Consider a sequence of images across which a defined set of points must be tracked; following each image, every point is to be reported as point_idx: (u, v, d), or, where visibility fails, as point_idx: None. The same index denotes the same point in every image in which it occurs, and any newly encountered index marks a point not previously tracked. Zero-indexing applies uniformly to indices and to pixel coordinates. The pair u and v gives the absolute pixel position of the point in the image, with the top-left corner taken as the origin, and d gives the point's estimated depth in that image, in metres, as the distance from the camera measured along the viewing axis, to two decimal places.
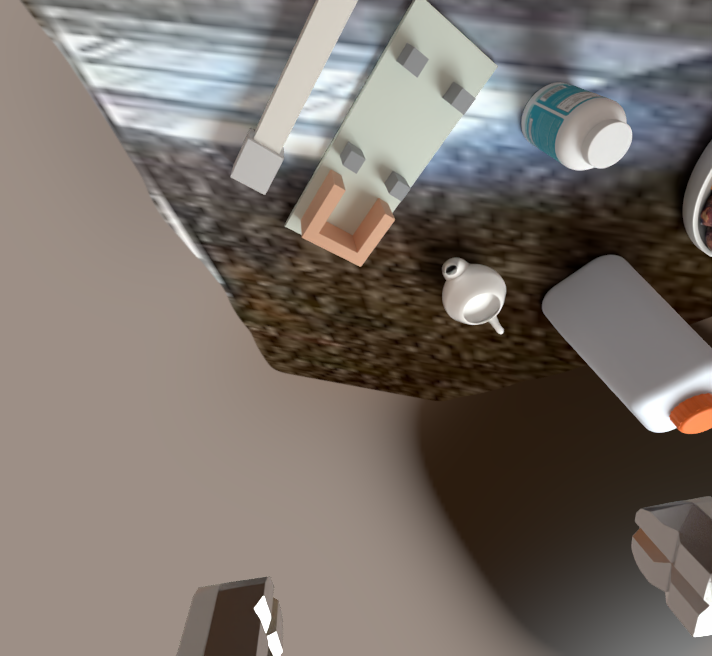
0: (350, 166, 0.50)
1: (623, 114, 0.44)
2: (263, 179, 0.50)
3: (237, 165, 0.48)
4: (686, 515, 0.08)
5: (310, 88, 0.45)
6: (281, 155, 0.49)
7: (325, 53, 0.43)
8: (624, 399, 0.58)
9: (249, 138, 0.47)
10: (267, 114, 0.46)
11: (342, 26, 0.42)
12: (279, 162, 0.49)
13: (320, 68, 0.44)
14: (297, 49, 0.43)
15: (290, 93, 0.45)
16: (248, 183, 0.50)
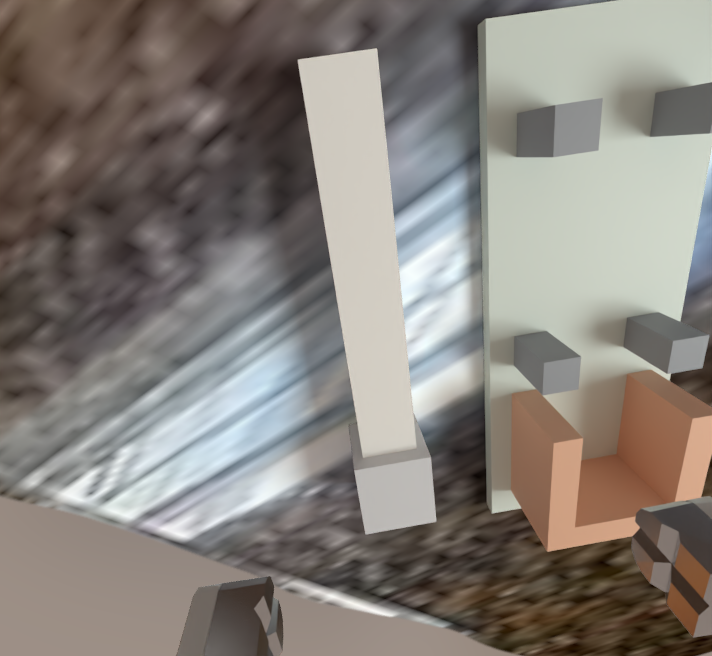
0: (558, 386, 0.22)
1: None
2: (419, 504, 0.25)
3: (364, 513, 0.25)
4: (686, 515, 0.08)
5: (400, 325, 0.21)
6: (422, 447, 0.24)
7: (388, 258, 0.20)
8: None
9: (355, 465, 0.24)
10: (357, 412, 0.23)
11: (387, 194, 0.19)
12: (427, 465, 0.24)
13: (396, 285, 0.20)
14: (338, 290, 0.20)
15: (374, 358, 0.22)
16: (398, 524, 0.25)
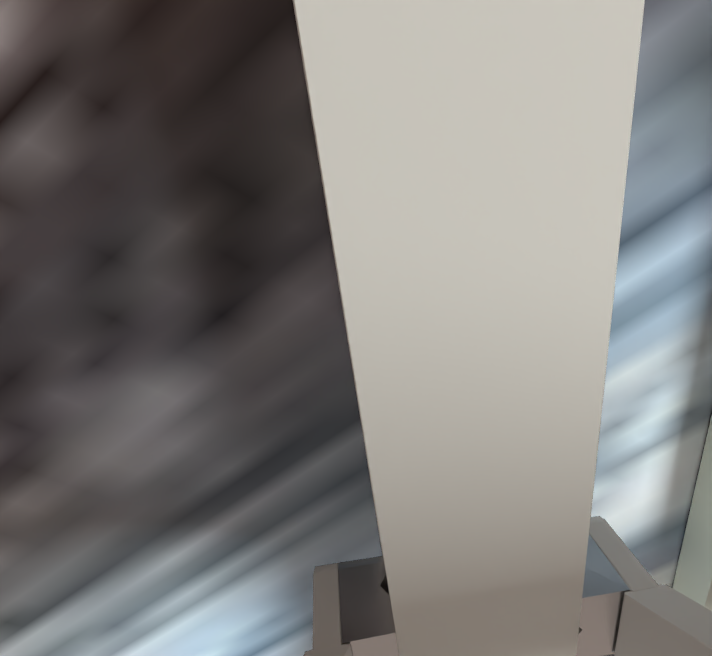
0: None
1: None
2: None
3: None
4: None
5: (566, 641, 0.07)
6: None
7: (563, 492, 0.06)
8: None
9: None
10: None
11: (599, 301, 0.05)
12: None
13: (573, 557, 0.07)
14: (397, 580, 0.06)
15: None
16: None
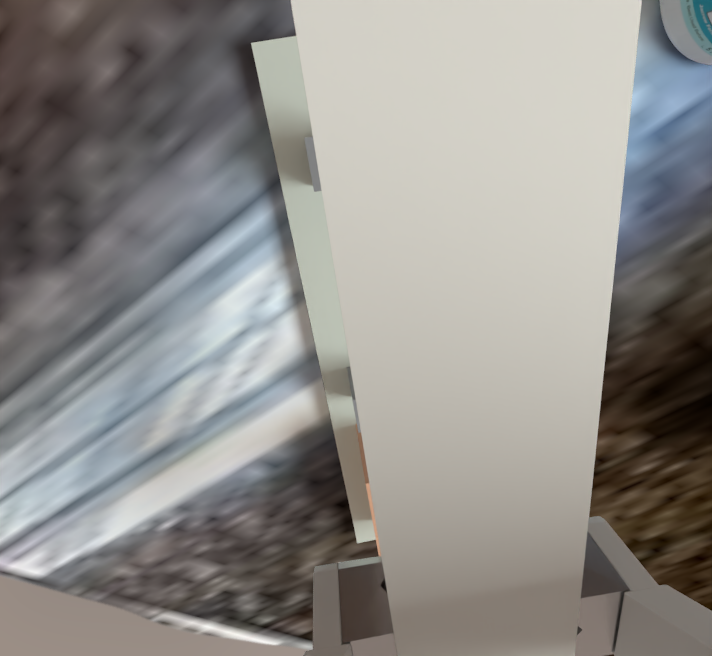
0: None
1: None
2: None
3: None
4: None
5: (564, 644, 0.07)
6: None
7: (560, 495, 0.06)
8: None
9: None
10: None
11: (597, 306, 0.05)
12: None
13: (571, 560, 0.07)
14: (395, 584, 0.06)
15: None
16: None
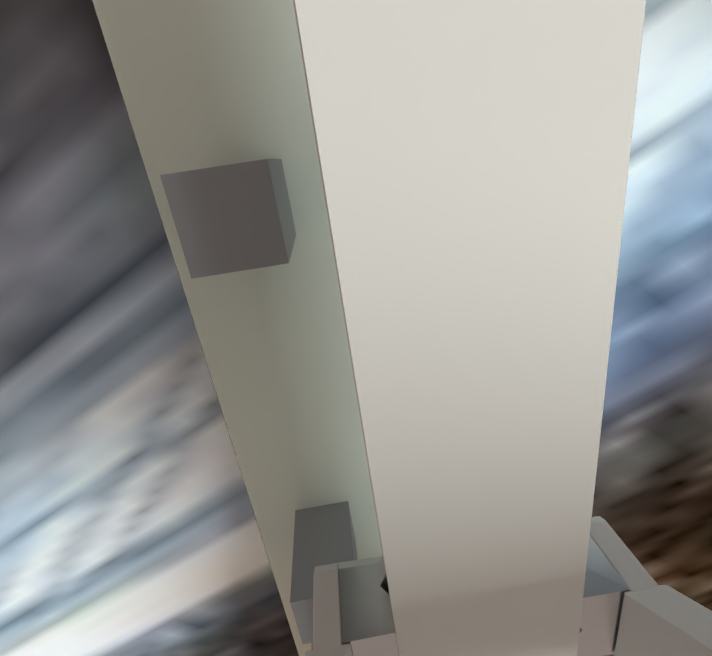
0: None
1: None
2: None
3: None
4: None
5: (567, 645, 0.07)
6: None
7: (563, 496, 0.06)
8: None
9: None
10: None
11: (600, 307, 0.05)
12: None
13: (574, 561, 0.07)
14: (398, 584, 0.06)
15: None
16: None
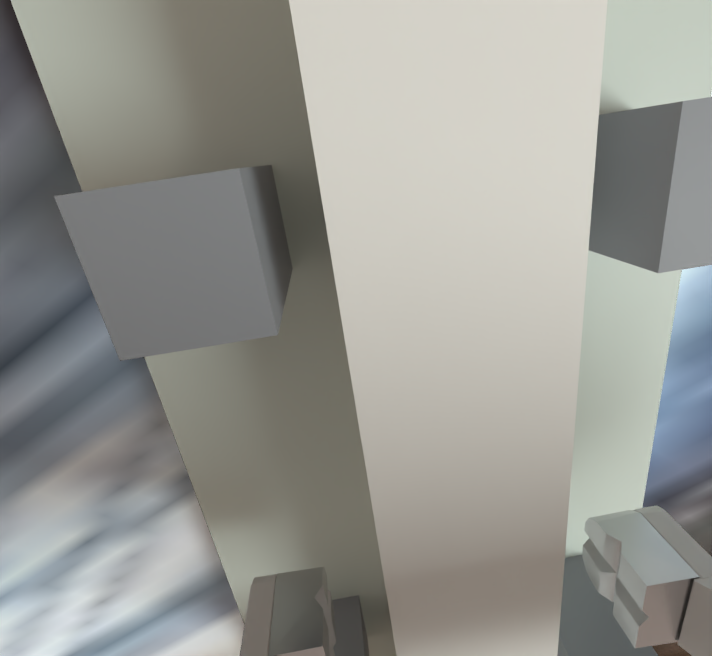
0: None
1: None
2: None
3: None
4: (631, 525, 0.08)
5: (550, 616, 0.08)
6: None
7: (543, 471, 0.07)
8: None
9: None
10: None
11: (572, 293, 0.05)
12: None
13: (554, 534, 0.07)
14: (389, 555, 0.07)
15: None
16: None
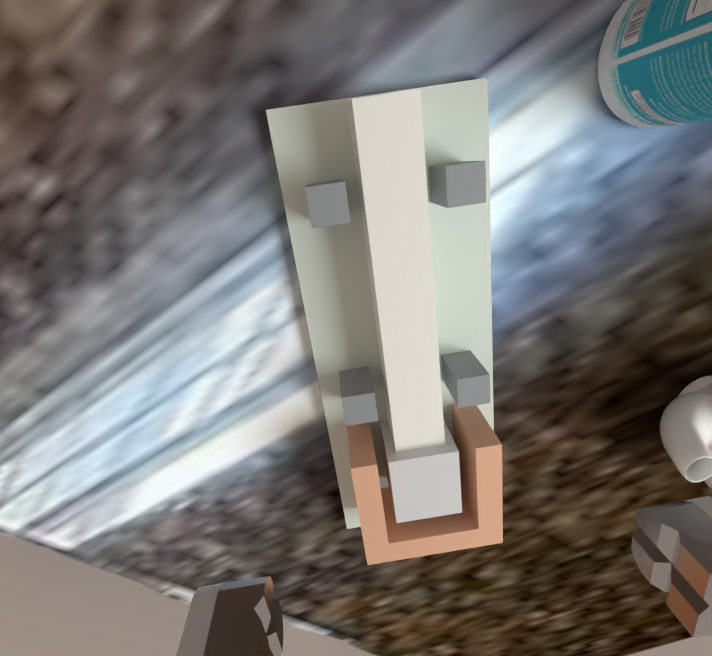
0: (359, 418, 0.25)
1: None
2: (446, 495, 0.27)
3: (396, 503, 0.27)
4: (686, 515, 0.08)
5: (433, 330, 0.24)
6: (450, 442, 0.27)
7: (424, 269, 0.22)
8: None
9: (389, 458, 0.26)
10: (392, 409, 0.25)
11: (425, 213, 0.21)
12: (455, 459, 0.26)
13: (430, 293, 0.23)
14: (379, 298, 0.23)
15: (409, 359, 0.24)
16: (427, 514, 0.27)
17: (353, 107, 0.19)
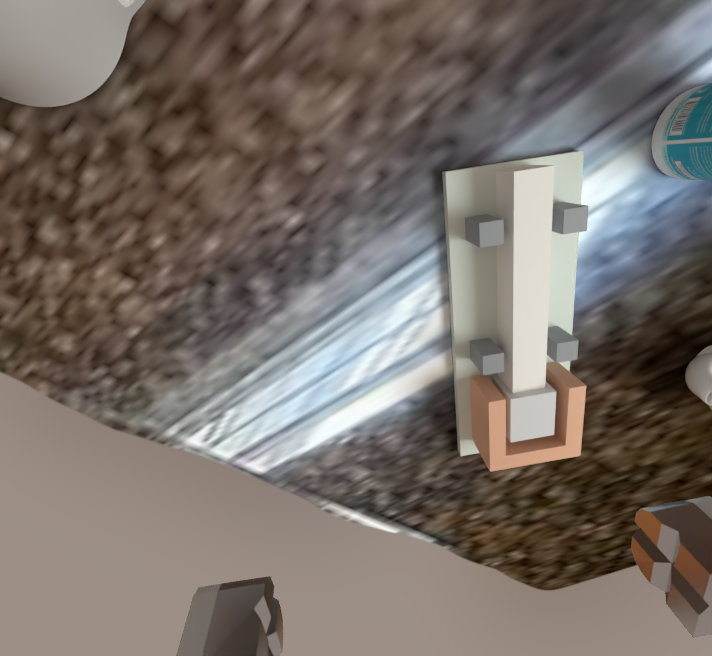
0: (492, 370, 0.38)
1: None
2: (545, 422, 0.40)
3: (512, 428, 0.40)
4: (686, 515, 0.08)
5: (546, 311, 0.37)
6: (548, 386, 0.40)
7: (544, 272, 0.35)
8: None
9: (510, 397, 0.39)
10: (514, 363, 0.38)
11: (549, 237, 0.34)
12: (553, 397, 0.39)
13: (547, 287, 0.36)
14: (515, 290, 0.36)
15: (528, 330, 0.37)
16: (531, 436, 0.41)
17: (514, 176, 0.32)
